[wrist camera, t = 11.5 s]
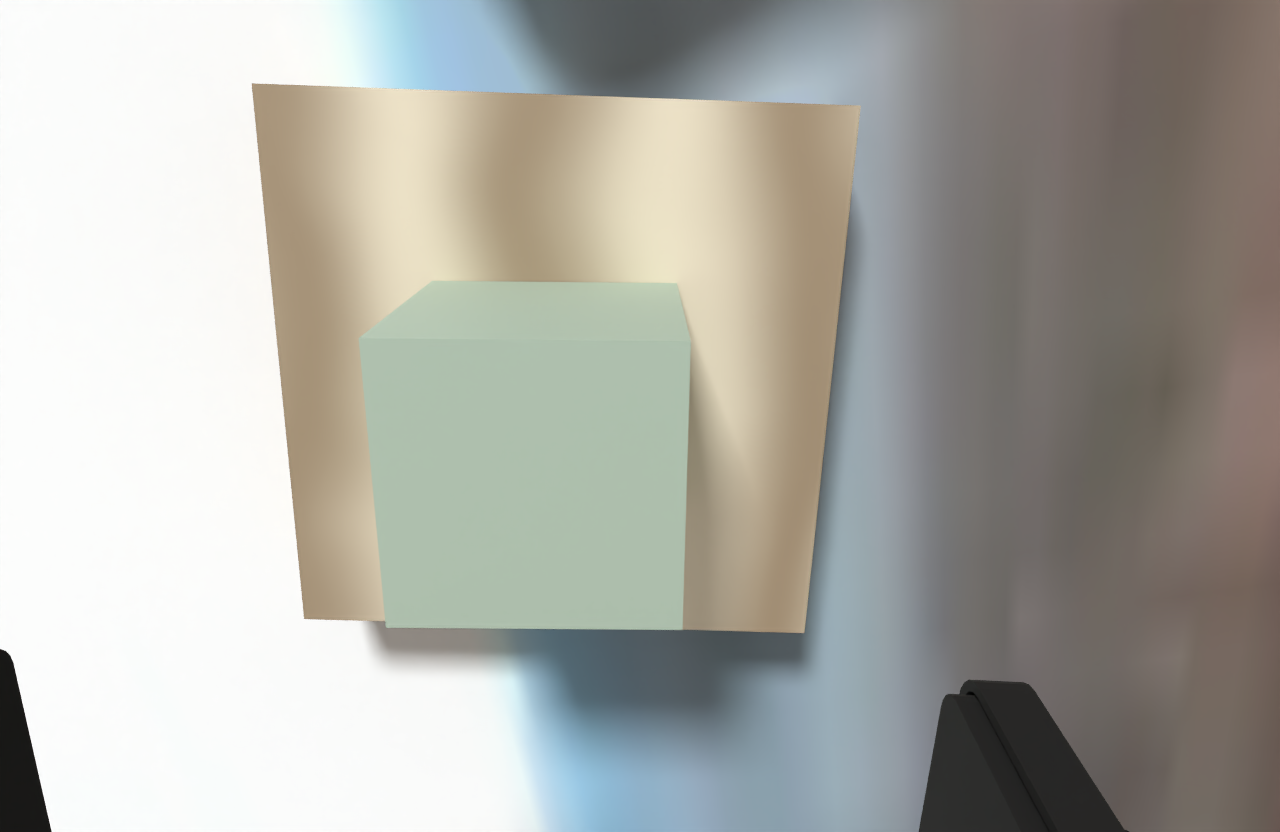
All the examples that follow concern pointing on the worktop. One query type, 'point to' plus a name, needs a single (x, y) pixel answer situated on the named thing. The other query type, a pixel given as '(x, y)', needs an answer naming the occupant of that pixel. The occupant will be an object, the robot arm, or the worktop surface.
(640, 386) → the sage cube
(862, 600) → the worktop surface
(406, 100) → the birch block
